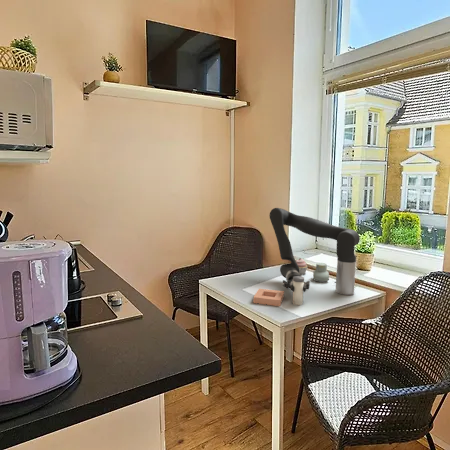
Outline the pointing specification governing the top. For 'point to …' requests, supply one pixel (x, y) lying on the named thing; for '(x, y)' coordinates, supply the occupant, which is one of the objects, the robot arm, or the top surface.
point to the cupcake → (301, 266)
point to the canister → (298, 290)
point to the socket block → (269, 297)
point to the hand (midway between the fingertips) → (299, 289)
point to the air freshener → (321, 273)
